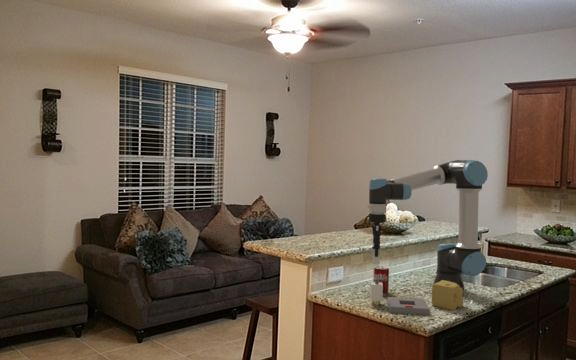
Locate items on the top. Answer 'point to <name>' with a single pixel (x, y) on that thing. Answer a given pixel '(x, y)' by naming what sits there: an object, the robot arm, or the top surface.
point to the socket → (407, 305)
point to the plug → (376, 292)
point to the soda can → (382, 277)
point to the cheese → (447, 295)
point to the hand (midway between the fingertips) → (375, 261)
